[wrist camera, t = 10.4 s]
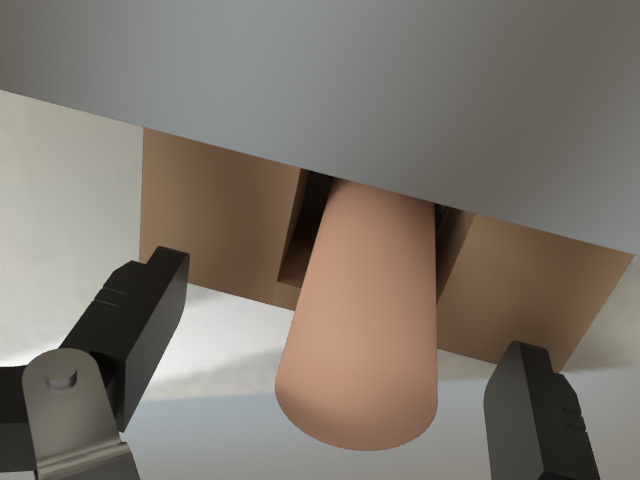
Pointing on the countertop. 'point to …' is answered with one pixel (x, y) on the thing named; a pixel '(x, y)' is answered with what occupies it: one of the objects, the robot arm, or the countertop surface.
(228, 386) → the countertop surface
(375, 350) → the peg
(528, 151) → the socket station
